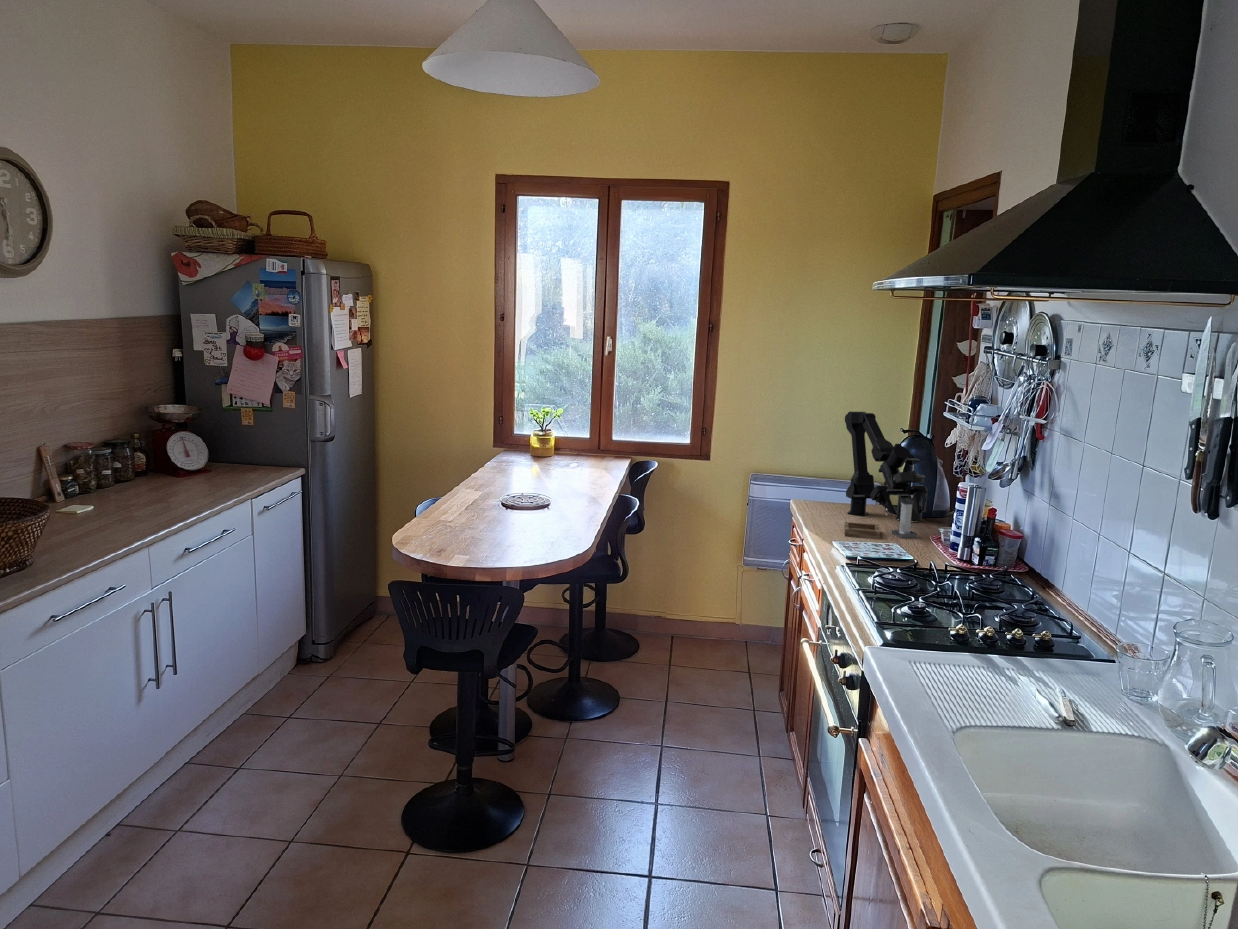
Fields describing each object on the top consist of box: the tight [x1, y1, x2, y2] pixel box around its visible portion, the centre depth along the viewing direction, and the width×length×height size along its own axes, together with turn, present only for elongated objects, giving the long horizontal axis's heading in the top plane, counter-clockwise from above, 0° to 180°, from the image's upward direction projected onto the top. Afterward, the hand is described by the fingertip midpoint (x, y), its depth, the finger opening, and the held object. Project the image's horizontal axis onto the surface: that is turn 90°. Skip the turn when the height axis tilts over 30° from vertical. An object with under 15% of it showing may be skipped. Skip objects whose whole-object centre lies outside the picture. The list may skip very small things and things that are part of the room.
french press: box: [895, 457, 930, 522], centre depth 322 cm, size 12×9×23 cm
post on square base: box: [891, 497, 918, 539], centre depth 297 cm, size 6×6×13 cm
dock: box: [843, 521, 881, 540], centre depth 299 cm, size 11×11×2 cm
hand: (905, 513), depth 297 cm, fingers open, 9 cm apart
